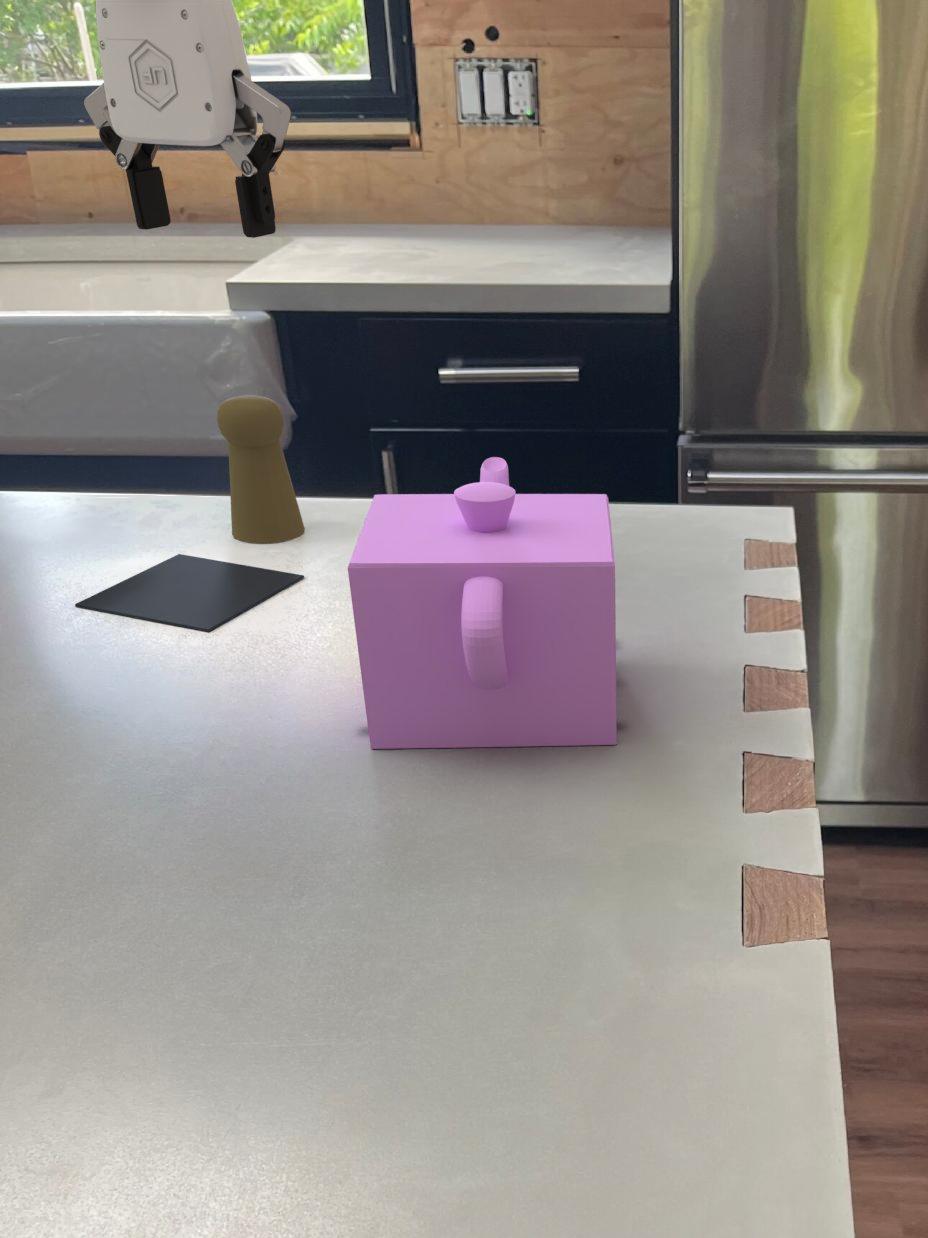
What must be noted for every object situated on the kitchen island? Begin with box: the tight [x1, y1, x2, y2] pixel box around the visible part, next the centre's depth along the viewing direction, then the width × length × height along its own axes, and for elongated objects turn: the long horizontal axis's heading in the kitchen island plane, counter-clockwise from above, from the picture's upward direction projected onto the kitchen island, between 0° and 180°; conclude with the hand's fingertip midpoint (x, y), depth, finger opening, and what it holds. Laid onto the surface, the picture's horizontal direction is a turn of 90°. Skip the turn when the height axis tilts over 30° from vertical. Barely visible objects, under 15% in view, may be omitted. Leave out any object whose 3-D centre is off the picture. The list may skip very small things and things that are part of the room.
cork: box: [216, 394, 306, 545], centre depth 110 cm, size 6×6×11 cm
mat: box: [74, 553, 305, 633], centre depth 101 cm, size 12×12×1 cm
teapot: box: [347, 456, 618, 750], centre depth 84 cm, size 15×25×14 cm, turn 5°
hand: (207, 231), depth 101 cm, fingers open, 9 cm apart
